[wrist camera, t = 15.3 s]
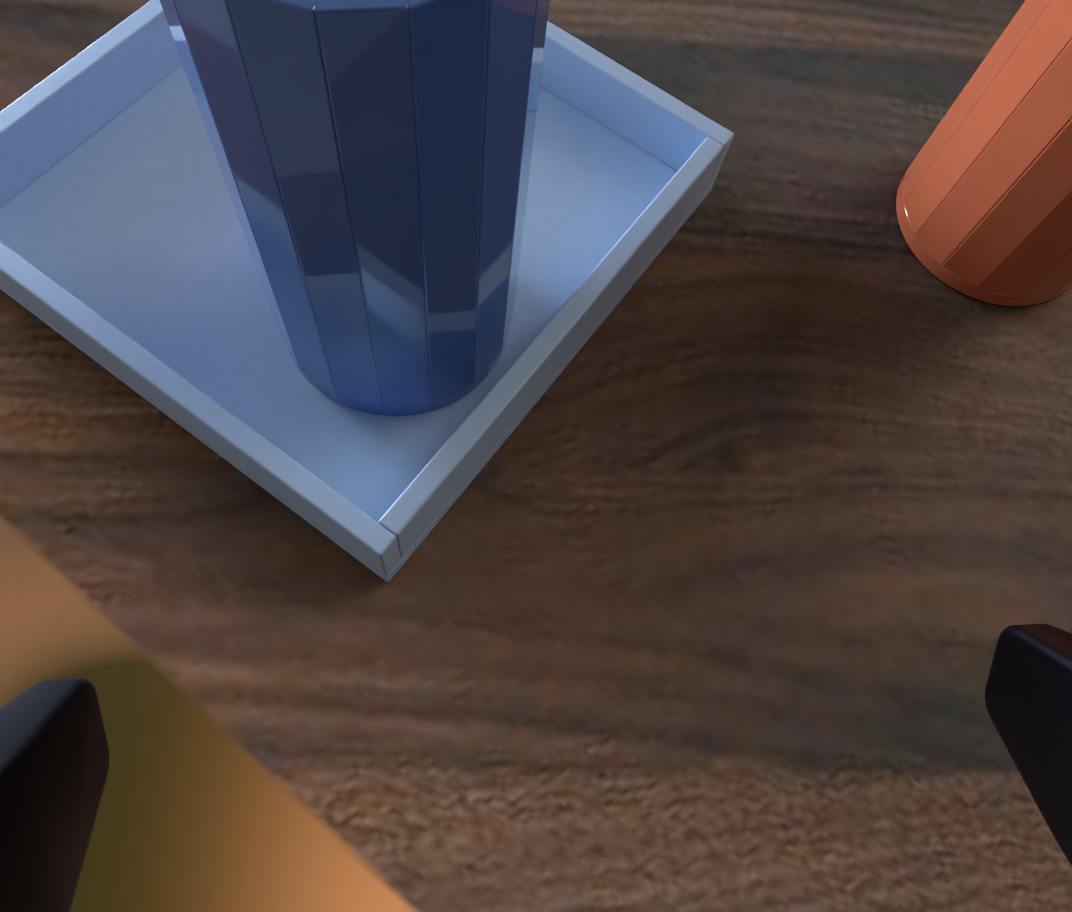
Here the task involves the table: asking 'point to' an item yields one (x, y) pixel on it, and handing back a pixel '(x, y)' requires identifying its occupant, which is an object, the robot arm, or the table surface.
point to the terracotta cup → (1001, 170)
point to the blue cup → (375, 178)
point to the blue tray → (239, 298)
